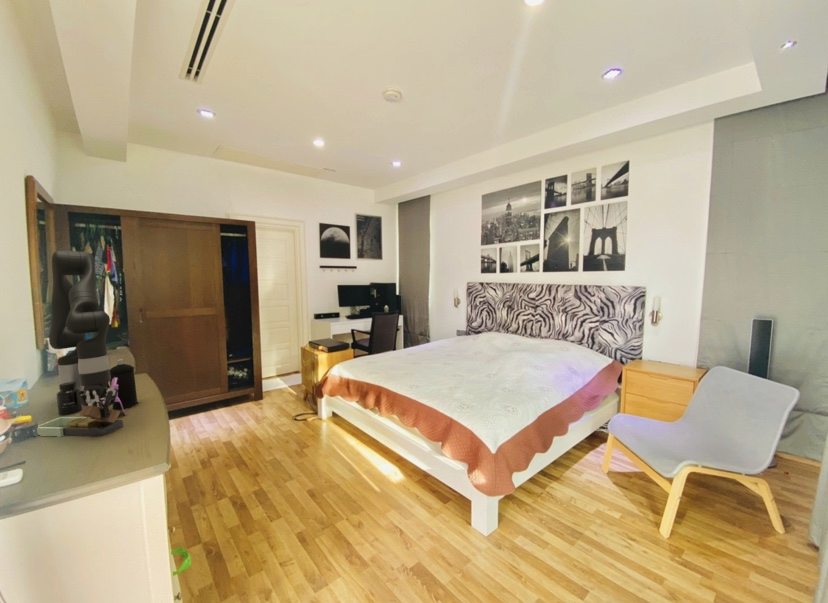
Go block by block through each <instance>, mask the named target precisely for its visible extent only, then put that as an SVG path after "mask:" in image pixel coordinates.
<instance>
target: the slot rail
mask: <svg viewBox="0 0 828 603" xmlns="http://www.w3.org/2000/svg"><path fill="white" fill-rule="evenodd" d="M123 427H124V424H123V420H122V419H117V420H116V422H114V423H102V422H101V428H78V427H66V426H65V427H64V428H63V427H62V428H63V435H64V436H63V437H65V436H66V437H104V436H106V435H108V434H111V433H114V432H115V431H117V430H119V429H121V428H123Z"/></svg>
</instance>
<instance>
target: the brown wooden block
mask: <svg viewBox="0 0 828 603" xmlns="http://www.w3.org/2000/svg"><path fill="white" fill-rule="evenodd" d="M109 413H110V415H109V417H108V418H106V419H101V415H100V407H99V406H97V407H96V406H84V407H83V409H82V410H81V411H80V412H79V416H81V417H87V418H94V419H98V420H97V421H98V422H102V423H114V422H116V420H118V417H119V415H120V414H121V410H113V409H109Z"/></svg>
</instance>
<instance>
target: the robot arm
mask: <svg viewBox="0 0 828 603" xmlns="http://www.w3.org/2000/svg"><path fill="white" fill-rule="evenodd" d="M95 262H96V261H95V258H94V255H93V254H92V253H90V252H87V251H78V250H56V251H54V252H53V254H52V256H51V270H52V271H51V274H52V294H51V304H50V306H51V324H50V329H49V335H48V342H49V345H50V347H51V348H52V349H54V350H63V349H65V350H66V349H70V348H74V350H72V351H71V352H69V353H68V354H65V355H62V356H60V357H59V358H57V368H58V374H59V381H58V386H59V385H60V384H63V383H67V382H76V383H77V387H76V388H79V389H80V390H81V391H79V392H77V396H78V397H79V399H80V401H81V403H82V407H83V408H84V406H96V407H99V408H100V415H101V419H106V418H108V417H109V415H110V413H109V410H110V406H113V404H114V403H115V399H116V396H117V392H118V390H117V389H114V390H113V389H111V387H110V385H109V384H110V380H111V376H110V369H111V368H110V362H109V358H108V353H107V343H106V342H107V341H106V340H107V335H108V334H107V333H108V330H109V327H110V323H111V320H110V319H111V318H110V316H109V314H108V313H107V312H105V311H101V310H99V308H100V304H99V300H98V295H97V290H96V289H97V288H96V282H97V281H96V264H95ZM67 276H82V277H81V279H80V280H78V281H77V282H76V283H75V284H73V283H72V282H71V281H69V279H68V278H67ZM98 310H99V311H98ZM89 333H96V334H95V335H94V336H93V337H91V338H89V339H88V338H87V334H89ZM101 398H104V399H101ZM103 401H105V403H104V404H103ZM98 405H99V406H98ZM92 419H94V418H92Z"/></svg>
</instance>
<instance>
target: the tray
mask: <svg viewBox="0 0 828 603" xmlns="http://www.w3.org/2000/svg"><path fill="white" fill-rule="evenodd" d="M77 418H88V417H86V416H60V417H57V418H54V419H52V420H48V421H47V422H44V423H42V424H39V425H37V426H38V428H37V433H38V434H39V435H45V436H57V437H56V438H61V436H62V437H65V436H64V435H63V427H64V426H65V427H66V423H67V422H69V421H72V420H74V419H77Z"/></svg>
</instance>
